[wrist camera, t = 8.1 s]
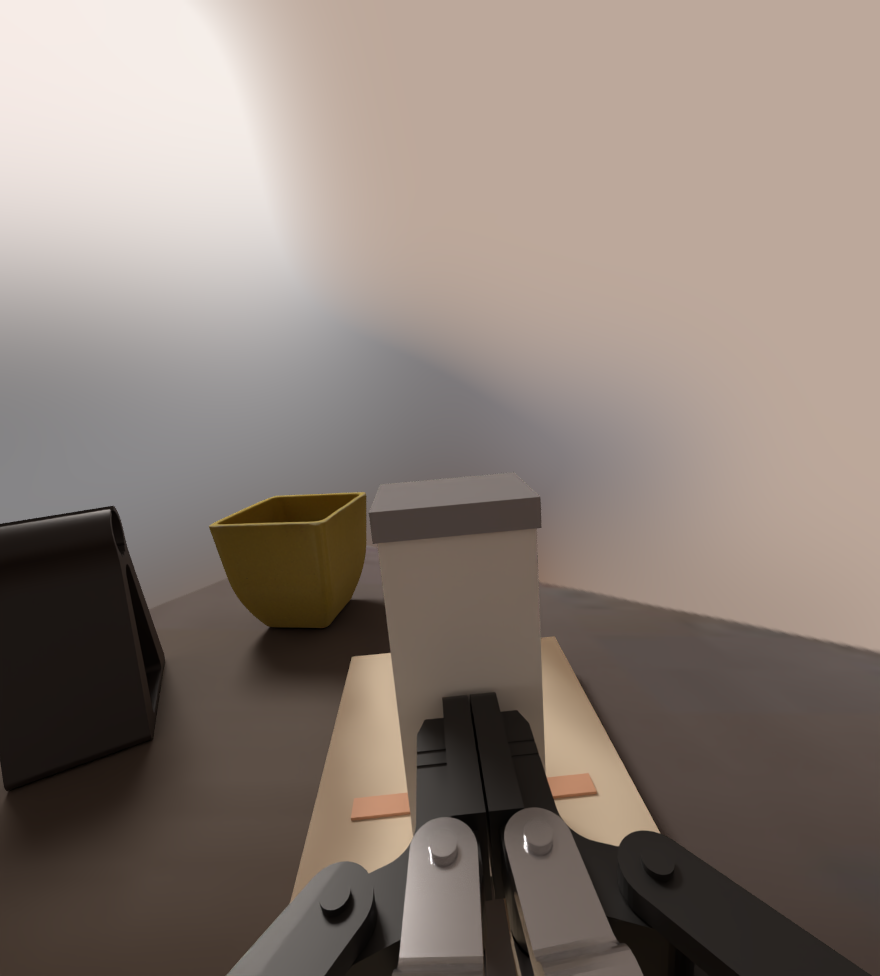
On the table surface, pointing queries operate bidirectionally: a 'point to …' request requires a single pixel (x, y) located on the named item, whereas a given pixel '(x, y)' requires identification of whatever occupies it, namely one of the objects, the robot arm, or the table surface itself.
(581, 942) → the robot arm
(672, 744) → the table surface
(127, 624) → the phone stand
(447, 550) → the fader knob
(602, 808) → the wooden slider board
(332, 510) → the flower pot
